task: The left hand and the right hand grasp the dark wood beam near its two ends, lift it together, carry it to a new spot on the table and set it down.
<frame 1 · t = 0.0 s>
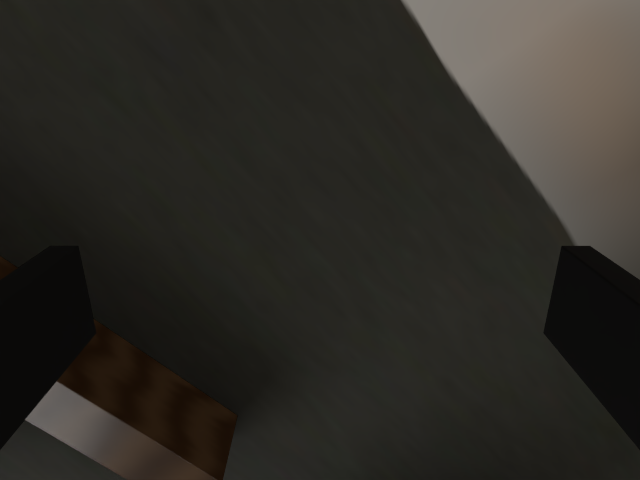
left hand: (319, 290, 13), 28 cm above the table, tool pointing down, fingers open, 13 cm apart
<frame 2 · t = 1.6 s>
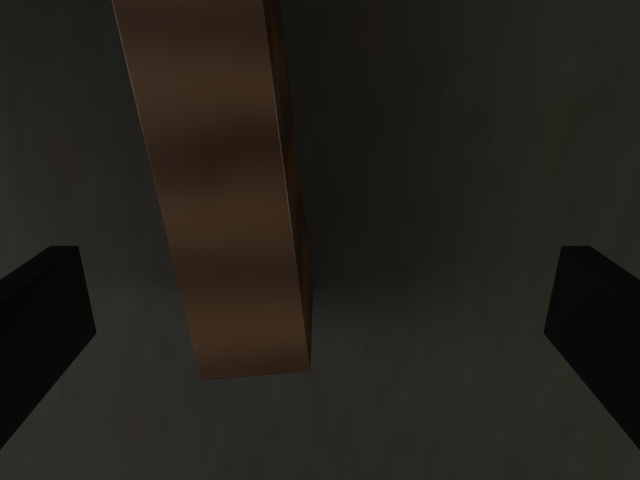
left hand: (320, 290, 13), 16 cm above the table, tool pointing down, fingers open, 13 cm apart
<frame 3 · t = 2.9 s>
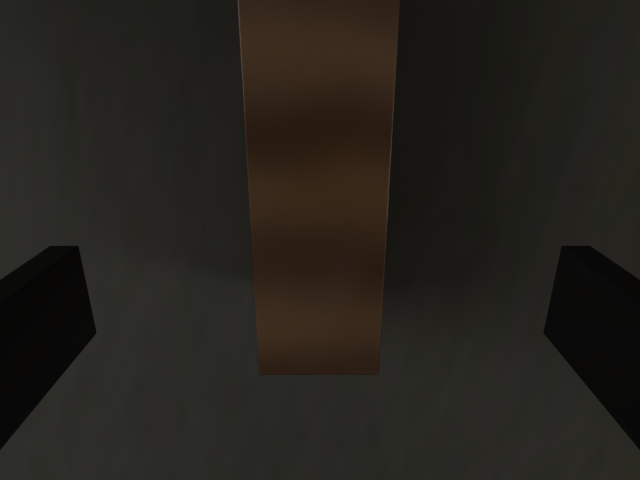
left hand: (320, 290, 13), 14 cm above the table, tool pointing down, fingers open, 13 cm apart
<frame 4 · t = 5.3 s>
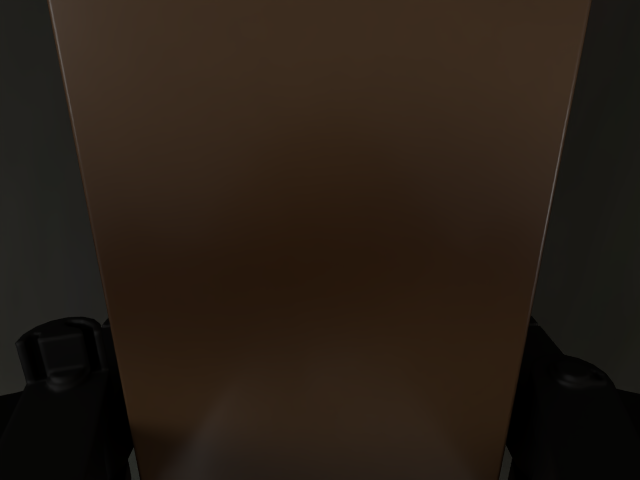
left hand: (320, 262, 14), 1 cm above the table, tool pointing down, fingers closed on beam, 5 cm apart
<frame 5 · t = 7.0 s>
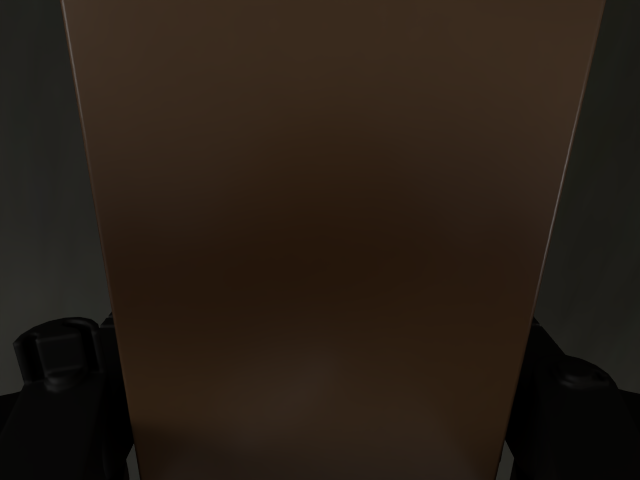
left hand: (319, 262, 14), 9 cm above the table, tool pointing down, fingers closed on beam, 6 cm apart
when the left hand's fingers open (2 cm above the table, at t = 9.1 s): beam drops 1 cm, on the table.
when the right hand's fingers open (2 cm above the table, at t = 9.1 s): beam drops 1 cm, on the table.
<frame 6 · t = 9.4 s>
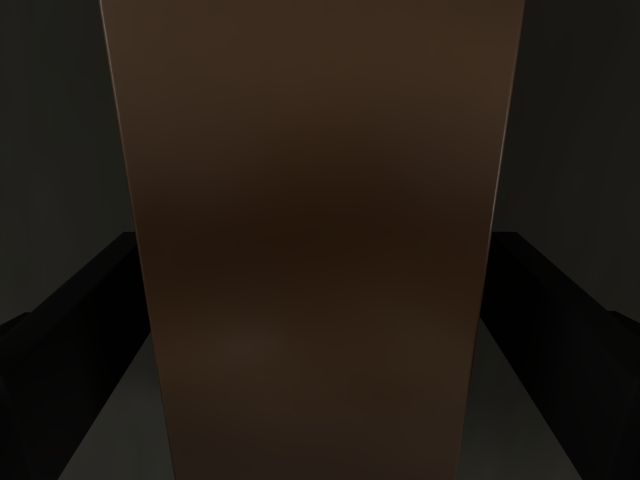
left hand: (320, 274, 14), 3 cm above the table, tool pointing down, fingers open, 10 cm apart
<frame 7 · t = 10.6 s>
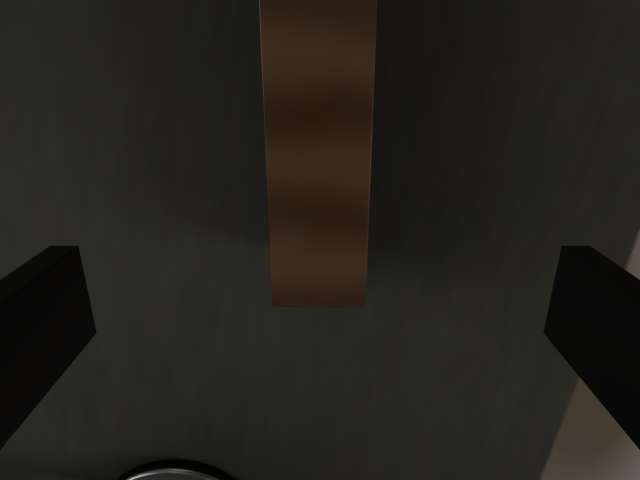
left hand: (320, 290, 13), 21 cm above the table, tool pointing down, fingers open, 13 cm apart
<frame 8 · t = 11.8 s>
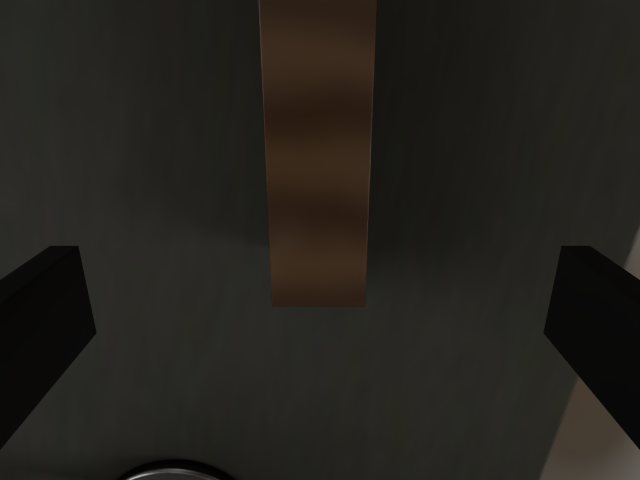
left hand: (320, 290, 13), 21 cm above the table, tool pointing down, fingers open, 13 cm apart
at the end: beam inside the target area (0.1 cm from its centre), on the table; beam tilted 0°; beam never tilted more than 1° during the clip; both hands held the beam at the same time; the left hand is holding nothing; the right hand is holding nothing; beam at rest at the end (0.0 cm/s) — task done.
